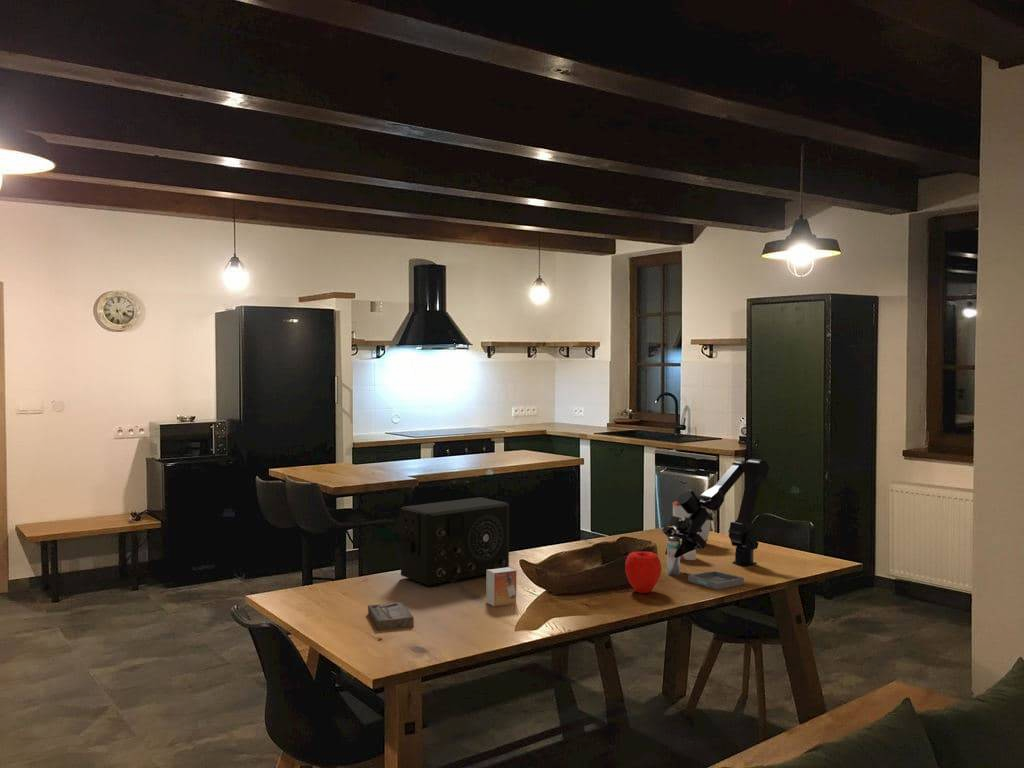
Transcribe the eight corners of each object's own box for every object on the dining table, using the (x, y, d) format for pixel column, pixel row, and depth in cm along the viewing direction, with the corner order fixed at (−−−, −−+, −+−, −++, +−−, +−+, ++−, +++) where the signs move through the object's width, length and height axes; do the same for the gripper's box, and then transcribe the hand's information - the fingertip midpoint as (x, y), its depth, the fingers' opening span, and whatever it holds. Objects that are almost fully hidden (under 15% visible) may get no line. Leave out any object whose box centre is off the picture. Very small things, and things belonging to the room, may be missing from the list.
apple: (653, 585, 291) (653, 546, 291) (667, 595, 280) (667, 553, 279) (619, 588, 288) (620, 548, 288) (633, 597, 277) (633, 555, 277)
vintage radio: (426, 591, 284) (426, 515, 283) (395, 579, 299) (395, 507, 298) (515, 573, 308) (515, 503, 307) (481, 563, 323) (481, 496, 322)
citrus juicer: (719, 548, 350) (719, 498, 349) (676, 548, 349) (676, 498, 349) (709, 540, 365) (710, 492, 365) (668, 540, 365) (668, 493, 364)
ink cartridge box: (673, 559, 330) (673, 521, 329) (672, 556, 334) (672, 518, 334) (696, 560, 329) (696, 521, 328) (694, 557, 334) (695, 519, 333)
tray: (714, 576, 304) (714, 570, 304) (743, 584, 293) (743, 577, 293) (687, 581, 297) (688, 575, 297) (717, 590, 286) (717, 583, 286)
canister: (673, 571, 311) (673, 535, 310) (683, 574, 307) (683, 537, 306) (663, 573, 308) (664, 537, 308) (673, 576, 304) (673, 539, 304)
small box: (493, 607, 266) (493, 573, 265) (485, 602, 271) (485, 569, 270) (516, 603, 269) (516, 570, 269) (508, 599, 274) (508, 566, 274)
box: (377, 632, 242) (377, 621, 242) (367, 615, 259) (367, 604, 259) (415, 628, 246) (414, 617, 246) (402, 611, 262) (402, 601, 262)
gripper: (666, 503, 317) (641, 536, 312) (699, 511, 300) (674, 546, 295) (683, 523, 321) (659, 556, 316) (717, 532, 304) (692, 566, 299)
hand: (670, 555), depth 306 cm, fingers closed on canister, 5 cm apart
